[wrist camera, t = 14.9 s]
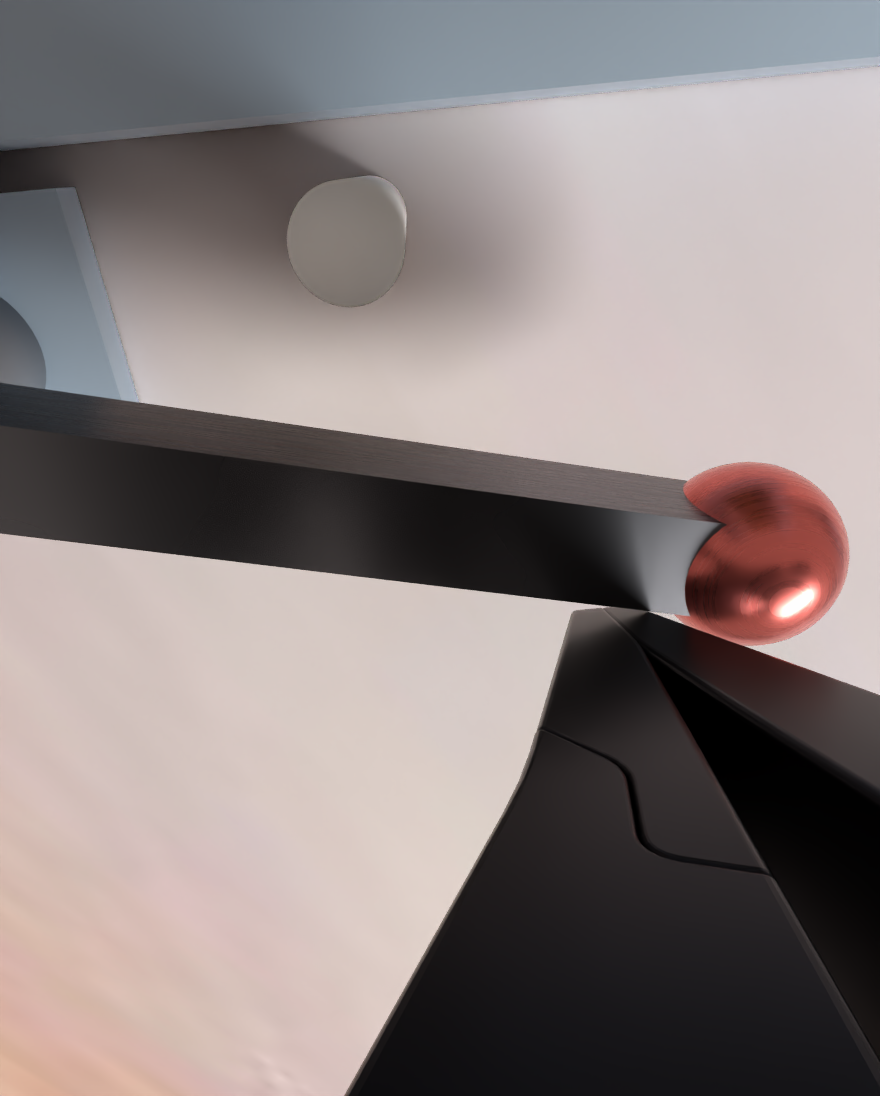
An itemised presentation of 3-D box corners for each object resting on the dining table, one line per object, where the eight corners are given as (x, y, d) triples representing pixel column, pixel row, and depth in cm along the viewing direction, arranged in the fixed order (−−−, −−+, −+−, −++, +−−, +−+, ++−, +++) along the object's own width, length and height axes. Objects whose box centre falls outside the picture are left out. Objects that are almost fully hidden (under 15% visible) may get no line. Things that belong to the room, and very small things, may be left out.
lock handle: (-215, 477, 9) (-396, 566, 7) (-276, 273, 8) (-514, 310, 6) (752, 598, 10) (834, 700, 8) (822, 441, 9) (936, 517, 7)
